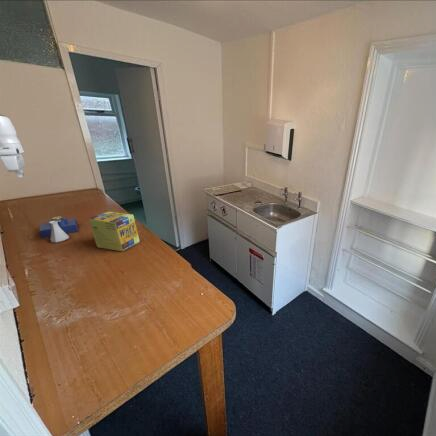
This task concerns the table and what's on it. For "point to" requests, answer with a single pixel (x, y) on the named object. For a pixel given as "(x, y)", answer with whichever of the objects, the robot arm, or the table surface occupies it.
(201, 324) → the table surface
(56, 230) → the flask
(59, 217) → the button
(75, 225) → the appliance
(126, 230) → the protein box
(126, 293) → the table surface
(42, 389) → the table surface
